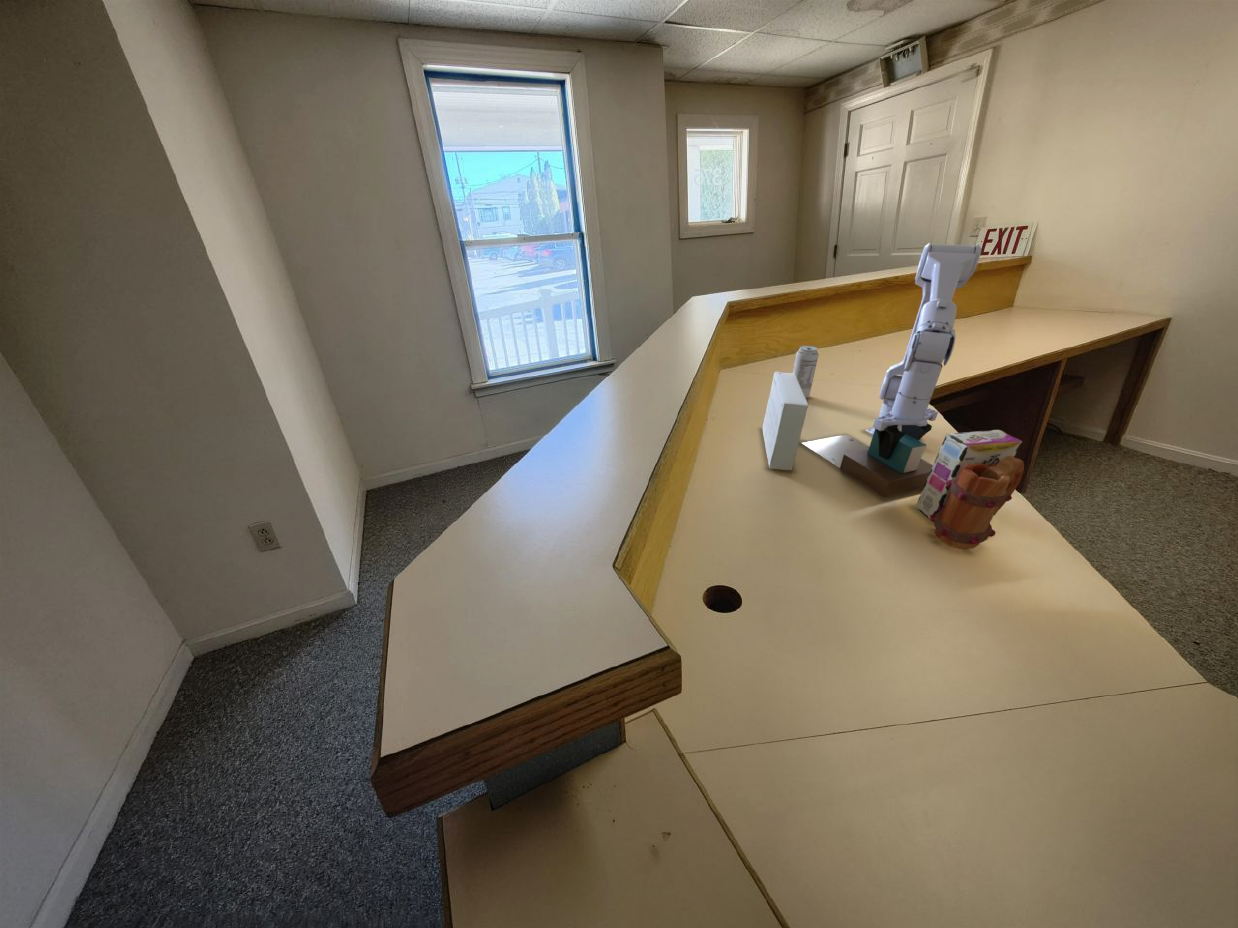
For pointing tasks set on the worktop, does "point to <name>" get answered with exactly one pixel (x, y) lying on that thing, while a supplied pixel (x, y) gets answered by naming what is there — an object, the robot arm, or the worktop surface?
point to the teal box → (900, 453)
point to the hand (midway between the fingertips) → (893, 455)
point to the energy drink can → (805, 367)
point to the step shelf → (868, 466)
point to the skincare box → (784, 420)
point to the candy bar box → (962, 463)
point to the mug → (976, 502)
